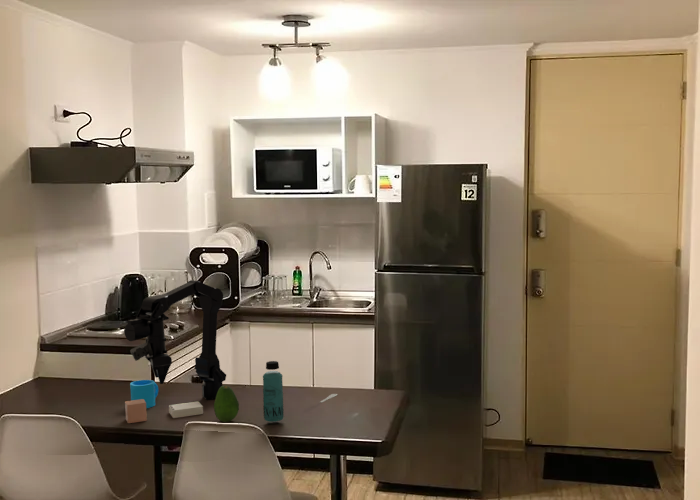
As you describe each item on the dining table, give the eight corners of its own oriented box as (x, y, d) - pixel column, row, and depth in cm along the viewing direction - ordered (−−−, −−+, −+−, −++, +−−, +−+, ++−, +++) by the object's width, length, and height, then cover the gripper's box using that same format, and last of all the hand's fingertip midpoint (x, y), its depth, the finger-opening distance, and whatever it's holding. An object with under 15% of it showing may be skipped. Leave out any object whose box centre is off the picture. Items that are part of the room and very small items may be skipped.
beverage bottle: (263, 420, 258) (261, 359, 256) (284, 419, 259) (282, 358, 257) (263, 427, 252) (261, 364, 250) (284, 425, 252) (282, 363, 250)
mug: (144, 410, 274) (143, 386, 274) (126, 407, 278) (125, 384, 277) (167, 400, 285) (166, 378, 284) (149, 398, 289) (148, 376, 288)
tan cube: (144, 416, 266) (143, 398, 266) (147, 420, 262) (146, 402, 261) (125, 419, 264) (124, 401, 263) (128, 423, 259) (127, 405, 259)
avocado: (212, 425, 255) (210, 388, 253) (217, 418, 262) (215, 382, 261) (237, 425, 254) (235, 388, 253) (241, 417, 262) (240, 381, 261)
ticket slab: (198, 408, 274) (198, 401, 274) (203, 413, 268) (202, 406, 268) (169, 412, 270) (168, 405, 270) (173, 418, 264) (172, 410, 264)
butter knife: (339, 394, 287) (332, 393, 288) (306, 412, 266) (299, 411, 267) (339, 395, 287) (332, 394, 288) (306, 413, 266) (299, 413, 267)
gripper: (127, 333, 272) (130, 377, 274) (135, 343, 255) (139, 391, 257) (160, 328, 277) (163, 372, 278) (170, 339, 260) (173, 385, 261)
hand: (159, 380), depth 269 cm, fingers open, 9 cm apart
